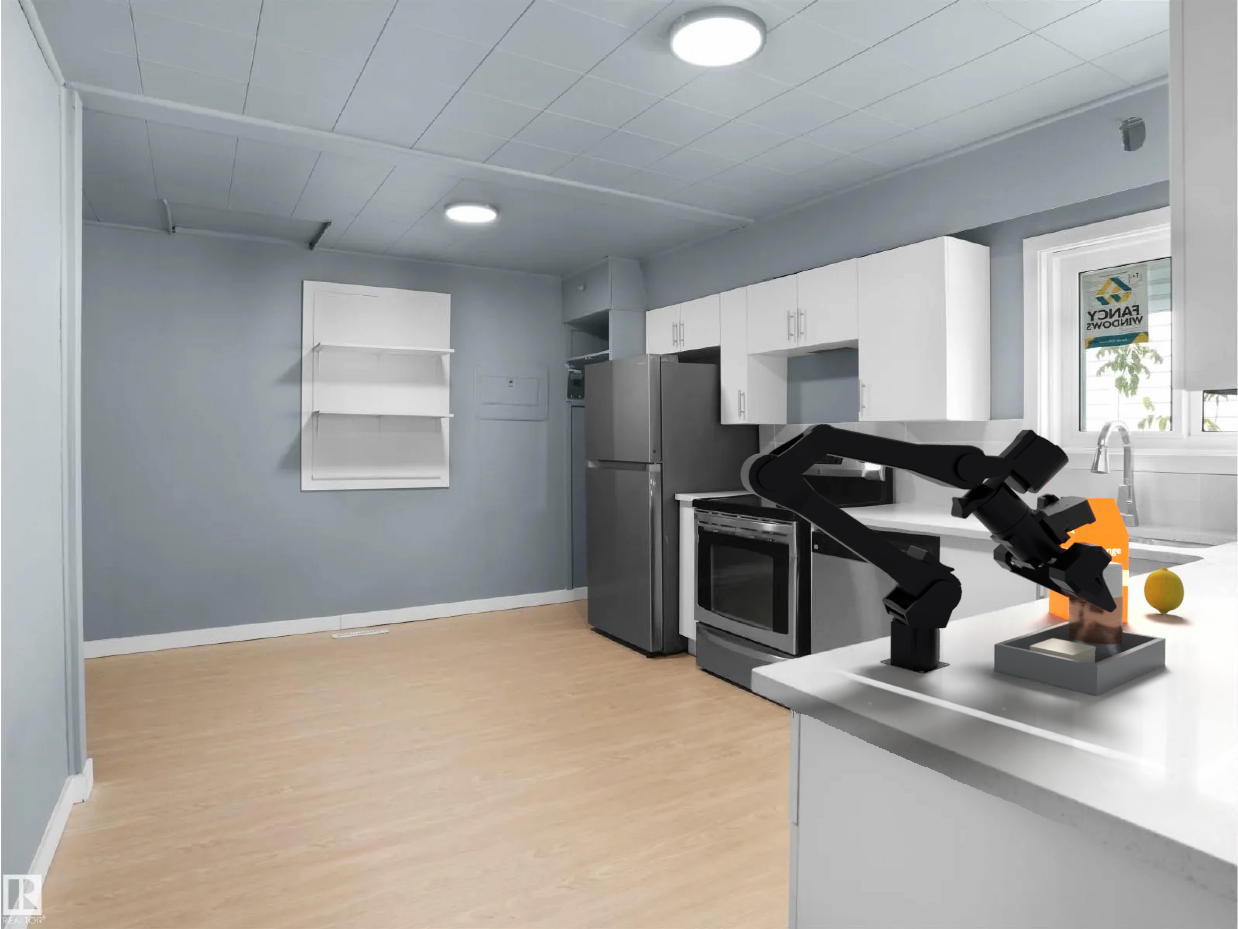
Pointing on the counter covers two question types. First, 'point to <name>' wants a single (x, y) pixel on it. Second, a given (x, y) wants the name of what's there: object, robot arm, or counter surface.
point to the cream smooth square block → (1066, 650)
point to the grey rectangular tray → (1074, 674)
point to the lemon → (1164, 590)
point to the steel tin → (1099, 618)
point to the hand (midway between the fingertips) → (1090, 602)
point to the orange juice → (1102, 533)
